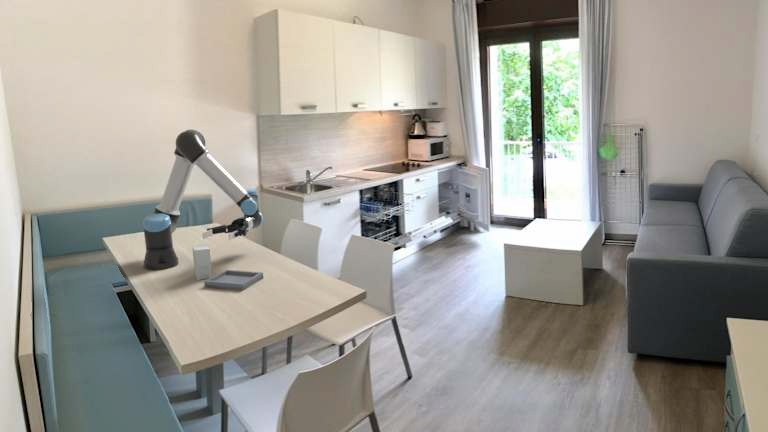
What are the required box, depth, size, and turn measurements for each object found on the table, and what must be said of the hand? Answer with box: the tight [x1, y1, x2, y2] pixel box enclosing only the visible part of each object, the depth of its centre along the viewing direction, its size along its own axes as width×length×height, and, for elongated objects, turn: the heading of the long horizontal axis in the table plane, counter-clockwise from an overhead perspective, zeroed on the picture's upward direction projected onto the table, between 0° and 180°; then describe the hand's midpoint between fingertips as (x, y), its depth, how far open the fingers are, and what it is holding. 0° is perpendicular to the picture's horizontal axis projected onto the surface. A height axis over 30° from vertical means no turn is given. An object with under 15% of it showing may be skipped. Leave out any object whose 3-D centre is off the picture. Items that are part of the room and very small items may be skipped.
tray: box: [204, 269, 264, 291], centre depth 232 cm, size 18×16×2 cm
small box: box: [192, 244, 213, 281], centre depth 240 cm, size 8×6×13 cm
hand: (216, 236), depth 248 cm, fingers open, 13 cm apart
